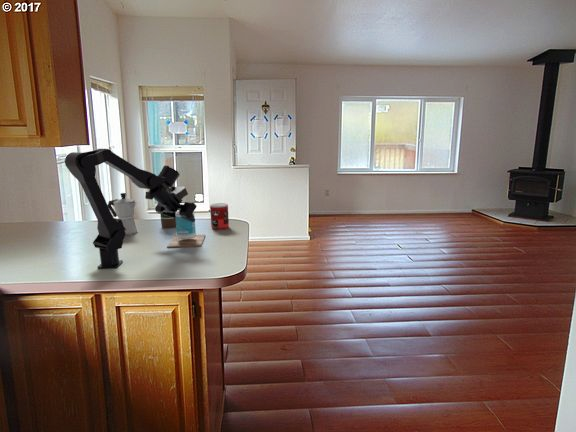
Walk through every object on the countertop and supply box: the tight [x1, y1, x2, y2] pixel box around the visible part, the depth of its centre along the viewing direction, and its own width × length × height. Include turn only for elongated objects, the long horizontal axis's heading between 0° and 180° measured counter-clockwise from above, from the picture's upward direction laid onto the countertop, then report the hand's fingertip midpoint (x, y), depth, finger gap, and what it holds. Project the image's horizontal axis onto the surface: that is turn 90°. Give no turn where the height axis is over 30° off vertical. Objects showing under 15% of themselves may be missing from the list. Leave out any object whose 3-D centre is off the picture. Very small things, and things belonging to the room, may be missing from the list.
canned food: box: [209, 202, 230, 231], centre depth 185 cm, size 8×8×11 cm
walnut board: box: [166, 234, 206, 249], centre depth 164 cm, size 16×13×1 cm
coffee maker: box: [107, 192, 138, 236], centre depth 178 cm, size 15×9×18 cm, turn 74°
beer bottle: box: [160, 187, 176, 229], centre depth 188 cm, size 8×8×24 cm
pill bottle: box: [175, 203, 197, 239], centre depth 162 cm, size 8×7×14 cm
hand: (187, 219), depth 163 cm, fingers closed on pill bottle, 7 cm apart
